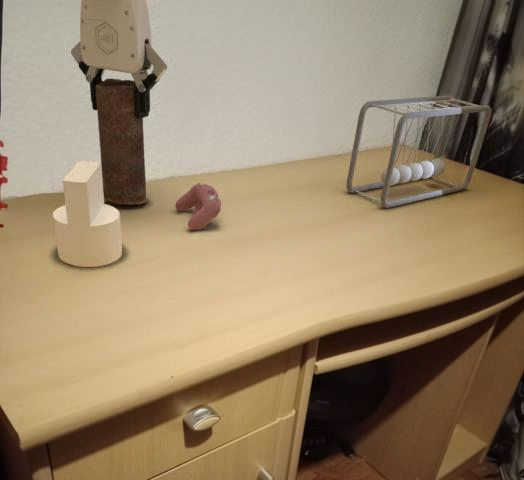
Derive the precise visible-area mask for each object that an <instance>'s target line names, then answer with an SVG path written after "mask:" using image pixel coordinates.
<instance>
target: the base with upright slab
mask: <svg viewBox="0 0 524 480" xmlns="http://www.w3.org/2000/svg"><path fill="white" fill-rule="evenodd" d="M62 186H63V197H64V204H65V205H62V206H59V207H58V208H56V209H55V210H53V213H52V218H53V219H52V220H53V226H54V233H55V241H56V242H55V243H56V249H57V255H58V258H59V259H60V260H61V261H62V262H63V263H66V264H68V265H71V266H76V267H81V268H94V267H102V266H103V267H104V266H106V265H110V264H113V263H114V262H117V261H118V260H119V259H120V258H121V256H122V255H123V245H122V228H121V227H122V226H121V213H120V211H119V209H117V208H116V207H114V206H112V205H109V204H106V203H105V199H104V194H103V181H102V168H101V161H100V162H99V161H91V160H78V161H77V162H76V164H75V165H73V167H72V168H71V169H70V171H69V172H68V173H67V174H66V175H65V176H64V178H62Z"/></svg>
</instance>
